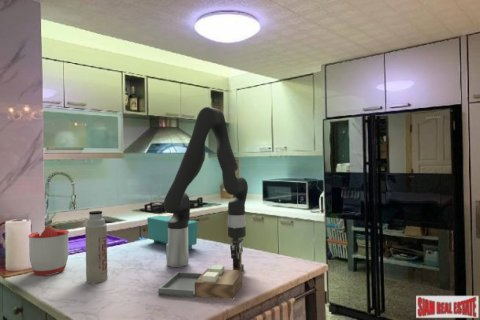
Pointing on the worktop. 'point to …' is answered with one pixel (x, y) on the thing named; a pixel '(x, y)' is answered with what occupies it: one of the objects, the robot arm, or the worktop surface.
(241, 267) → the scraper
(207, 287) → the board
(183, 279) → the bin
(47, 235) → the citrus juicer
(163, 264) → the worktop surface
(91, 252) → the thermos bottle
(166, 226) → the radio
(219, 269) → the tile
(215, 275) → the tile
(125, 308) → the worktop surface
